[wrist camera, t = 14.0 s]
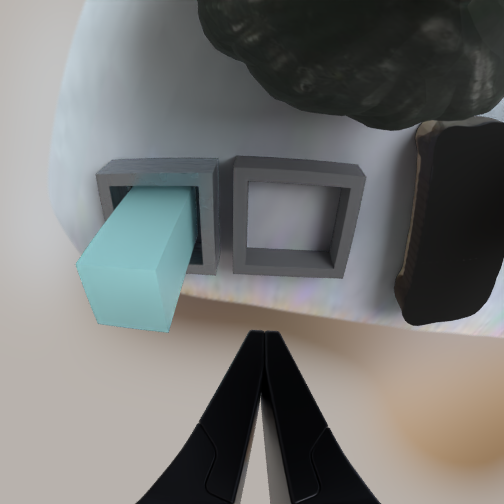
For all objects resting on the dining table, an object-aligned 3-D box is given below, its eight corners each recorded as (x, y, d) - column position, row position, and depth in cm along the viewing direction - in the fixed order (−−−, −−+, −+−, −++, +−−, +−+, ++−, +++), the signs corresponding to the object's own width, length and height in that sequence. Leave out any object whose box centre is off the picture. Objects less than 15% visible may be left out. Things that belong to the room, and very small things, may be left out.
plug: (195, 181, 20) (155, 270, 13) (197, 233, 23) (168, 332, 15) (137, 181, 20) (75, 264, 13) (144, 231, 23) (98, 323, 15)
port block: (218, 158, 19) (212, 173, 17) (220, 253, 24) (215, 275, 22) (112, 159, 19) (95, 174, 17) (127, 248, 24) (116, 268, 22)
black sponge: (465, 288, 25) (481, 316, 22) (387, 298, 26) (398, 330, 23) (506, 116, 16) (537, 131, 13) (411, 103, 17) (437, 117, 14)
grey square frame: (357, 164, 19) (366, 176, 17) (337, 261, 24) (342, 278, 22) (236, 155, 19) (233, 167, 18) (235, 255, 24) (232, 273, 22)
